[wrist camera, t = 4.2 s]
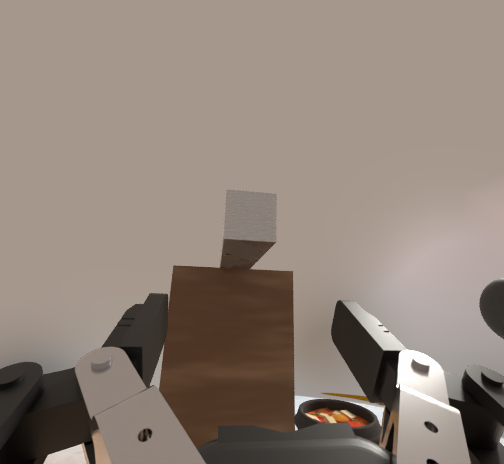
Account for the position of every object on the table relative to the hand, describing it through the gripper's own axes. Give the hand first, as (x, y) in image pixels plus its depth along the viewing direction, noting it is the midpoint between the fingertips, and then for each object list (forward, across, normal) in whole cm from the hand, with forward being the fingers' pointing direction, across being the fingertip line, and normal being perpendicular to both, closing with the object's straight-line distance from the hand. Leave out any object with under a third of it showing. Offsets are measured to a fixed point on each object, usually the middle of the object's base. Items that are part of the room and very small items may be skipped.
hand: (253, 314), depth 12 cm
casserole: (+24, -24, +46) cm, 57 cm away
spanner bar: (+17, 0, +5) cm, 18 cm away
